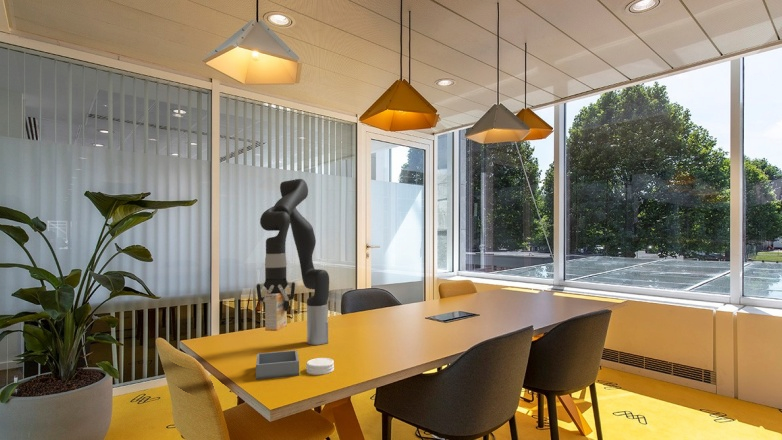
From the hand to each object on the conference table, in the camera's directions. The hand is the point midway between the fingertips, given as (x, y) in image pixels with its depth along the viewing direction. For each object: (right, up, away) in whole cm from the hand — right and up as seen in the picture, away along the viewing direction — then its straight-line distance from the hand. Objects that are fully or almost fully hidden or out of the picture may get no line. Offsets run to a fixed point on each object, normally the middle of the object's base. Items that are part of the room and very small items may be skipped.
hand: (276, 311), depth 159 cm
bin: (+1, -22, -1) cm, 22 cm away
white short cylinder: (+16, -22, -1) cm, 27 cm away
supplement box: (0, -6, 0) cm, 6 cm away
